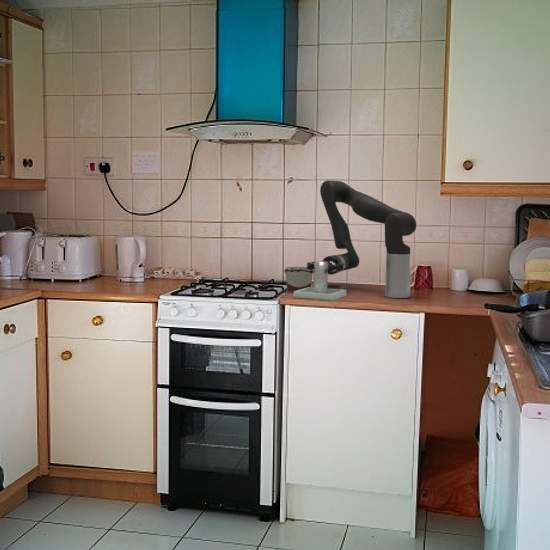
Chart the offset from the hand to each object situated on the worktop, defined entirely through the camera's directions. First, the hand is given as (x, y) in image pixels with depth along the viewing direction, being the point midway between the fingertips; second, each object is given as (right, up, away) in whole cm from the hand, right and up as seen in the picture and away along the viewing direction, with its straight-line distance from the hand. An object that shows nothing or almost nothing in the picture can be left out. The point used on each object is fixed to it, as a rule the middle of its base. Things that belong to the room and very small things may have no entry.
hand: (319, 267), depth 295 cm
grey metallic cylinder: (0, -11, +3) cm, 11 cm away
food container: (-7, -10, +18) cm, 21 cm away
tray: (0, -11, +3) cm, 12 cm away
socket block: (+7, -10, +17) cm, 21 cm away
